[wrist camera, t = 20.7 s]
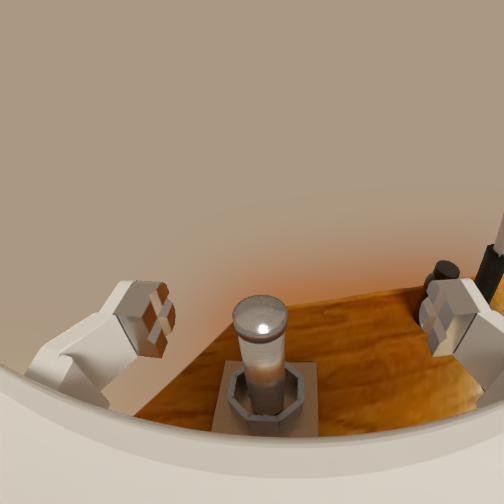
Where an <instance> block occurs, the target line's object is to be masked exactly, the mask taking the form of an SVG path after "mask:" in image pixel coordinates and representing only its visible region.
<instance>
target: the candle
mask: <svg viewBox="0 0 504 504" xmlns="http://www.w3.org/2000/svg"><path fill="white" fill-rule="evenodd" d="M503 273H504V214H503V218H502V222H501V225H500V228H499V232H498V235H497V238H496V241H495V244H491V245H488V246H487V248H486V252H485V254H484V257H483V260H482V263H481V265H480V268H479V271H478V273H477V275H476V278H475V280H474V283H475V285H476V286H477V288H478V289H479V291H480V293H481V294H482V296H483V297H484V299H485V300H486V302H487V304H488V305H489V304H490V302H491V300H492V297H493V295H494V293H495V291H496V289H497V287H498V285H499V283H500V280H501V278H502V276H503Z"/></svg>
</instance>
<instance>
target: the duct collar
mask: <svg viewBox="0 0 504 504" xmlns="http://www.w3.org/2000/svg"><path fill="white" fill-rule="evenodd" d="M211 432H215V433H224V434H233V435H245V436H260V437H318V387H317V362H286V361H285V387H284V405H283V408H282V409H281V410H280V411H279V412H278V413H276V414H274V415H271V416H269V415H260V414H258V413H256V412H255V411H254V410H253V409H252V406H251V402H250V397H249V392H248V387H247V382H246V377H245V371H244V366H243V361H231V360H226V361H225V366H224V371H223V375H222V380H221V385H220V390H219V395H218V400H217V404H216V409H215V414H214V419H213V424H212V429H211Z"/></svg>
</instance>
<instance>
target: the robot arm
mask: <svg viewBox="0 0 504 504" xmlns="http://www.w3.org/2000/svg"><path fill="white" fill-rule="evenodd" d="M168 294H169V291H168V288H167V285H166V284H165V283H163V282H152V281H137V280H136V281H134V280H122V281H120V282H119V283H118V285H117V286H116V288H115V289H114V291H113V292H112V293H111V295H110V296H109V298H108V299H107V301H106V302H105V304H104V305H103V307H102V308H101V310H100V311H99V313H93V314H92V315H90V316H89V317H87V318H85V319H84V320H83V321H81V322H79V323H78V324H76V325H74V326H73V327H71V328H70V329H68V330H67V331H65V332H63V333H62V334H60V335H59V336H57V337H56V338H54V339H53V340H51V341H49V342H48V343H46V344H45V345H43V346H42V347H41V349H40V350H39V352H38V353H37V355H36V356H35V358H34V360H33V361H32V363H31V365H30V366H29V368H28V370H27V371H26V373H25V375H24V376H23V375H21V374H19V373H18V372H16V371H14V370H12V369H10V368H8V367H6V366H5V365H3V364H1V363H0V504H504V316H502V315H501V314H499V313H498V312H496V311H492V310H491V309H490V307H489V305H488V304H487V302H486V300H485V299H484V297H483V296H482V294H481V293H480V291H479V289H478V288H477V286H476V285H475V283H474V282H473V280H471V279H470V278H460V279H451V280H435V281H431V282H430V284H429V285H428V288H427V294H428V297H427V298H426V299H425V300H424V301H423V302H422V304H421V307H420V311H419V321H420V325H421V328H422V331H424V332H425V333H426V334H427V335H428V337H427V340H426V342H427V344H428V347H429V350H430V353H431V355H432V357H437V356H444V355H451V354H453V356H454V357H455V358H456V359H457V360H458V361H459V362H460V363H461V365H462V366H463V367H464V368H465V369H466V370H467V371H468V372H469V373H470V374H471V375H472V376H473V378H474V379H475V380H476V381H477V382H478V383H479V384H480V385H481V387H482V388H483V389H484V390H485V393H484V394H483V395H482V396H481V397H480V398H479V399H478V400H477V402H476V405H477V408H478V409H475V410H472V411H469V412H465V413H462V414H459V415H455V416H452V417H448V418H445V419H441V420H437V421H433V422H429V423H424V424H420V425H415V426H410V427H405V428H399V429H393V430H387V431H380V432H373V433H365V434H355V435H344V436H330V437H260V436H245V435H233V434H224V433H215V432H208V431H201V430H194V429H188V428H182V427H177V426H172V425H167V424H162V423H157V422H153V421H149V420H144V419H140V418H136V417H133V416H129V415H125V414H122V413H118V412H115V411H112V410H108V407H109V402H108V400H107V399H106V398H105V397H104V396H103V394H102V393H101V392H100V391H101V390H102V389H103V388H104V387H106V386H107V385H108V384H109V383H110V382H111V381H112V380H113V379H114V378H115V377H116V376H118V375H119V374H120V373H121V372H122V371H123V370H124V369H125V368H126V367H127V366H129V364H131V363H132V362H133V361H134V360H135V359H136V358H137V357H138V356H146V357H155V358H162V355H163V353H164V350H165V348H166V345H167V343H168V342H167V339H166V337H165V336H167V335H168V334H169V333H170V332H172V330H173V327H174V325H175V308H174V306H173V303H172V302H171V301H170V300H169V299H168V298H167V296H168ZM137 355H138V356H137Z"/></svg>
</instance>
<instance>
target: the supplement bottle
mask: <svg viewBox="0 0 504 504" xmlns="http://www.w3.org/2000/svg"><path fill="white" fill-rule="evenodd" d="M459 274H460V270H459V268H458V267H457V266H456V265H455V264H453V263H452V262H449V261H445V260H443V261H438V262H437V264H436V266H435V269H434V271H433V273H431V274H429V275H428V276H427V278H426V280H425V283H424V286H423V288H422V291H421V294H420V297H419V300H418V302H417V305H416V308H415V311H414V317H415V320H416V322H417V323H418V324H419V325H420V321H419V311H420V307H421V304H422V302H423V301H424V300H425V299H426V298H427V297H428V294H427V288H428V285H429V284H430V282H431V281H435V280H451V279H458V277H459ZM420 326H421V325H420Z"/></svg>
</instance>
